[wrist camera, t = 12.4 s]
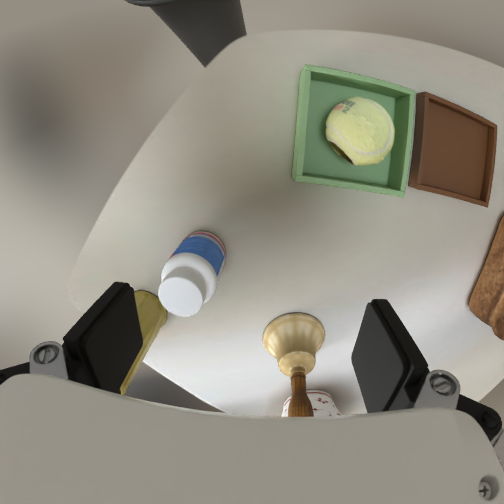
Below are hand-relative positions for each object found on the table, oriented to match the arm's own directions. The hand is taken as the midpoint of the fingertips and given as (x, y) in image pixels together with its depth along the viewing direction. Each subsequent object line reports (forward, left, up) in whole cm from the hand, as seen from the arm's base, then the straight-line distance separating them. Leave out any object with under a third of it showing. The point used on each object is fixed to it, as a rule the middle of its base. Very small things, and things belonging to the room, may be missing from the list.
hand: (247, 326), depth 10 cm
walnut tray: (-10, +23, -21) cm, 33 cm away
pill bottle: (+6, -6, -21) cm, 22 cm away
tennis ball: (-9, +9, -20) cm, 24 cm away
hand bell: (+17, +6, -21) cm, 27 cm away
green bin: (-9, +9, -21) cm, 24 cm away
